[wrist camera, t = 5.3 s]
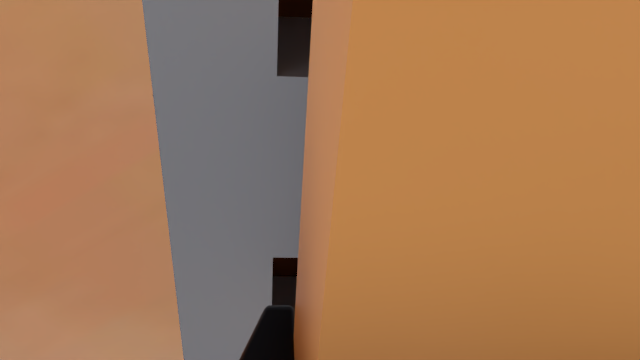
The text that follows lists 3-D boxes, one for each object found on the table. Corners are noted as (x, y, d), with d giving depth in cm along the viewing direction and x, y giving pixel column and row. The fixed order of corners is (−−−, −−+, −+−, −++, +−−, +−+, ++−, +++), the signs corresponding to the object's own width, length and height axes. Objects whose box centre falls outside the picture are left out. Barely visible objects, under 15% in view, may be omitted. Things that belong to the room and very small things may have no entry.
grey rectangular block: (430, 379, 21) (451, 460, 18) (206, 382, 20) (196, 467, 18) (705, -580, 8) (888, -728, 6) (118, -662, 7) (42, -865, 5)
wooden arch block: (394, 390, 15) (455, 722, 10) (279, 391, 15) (280, 733, 10) (530, -201, 8) (1087, -121, 2) (303, -218, 7) (368, -171, 2)
